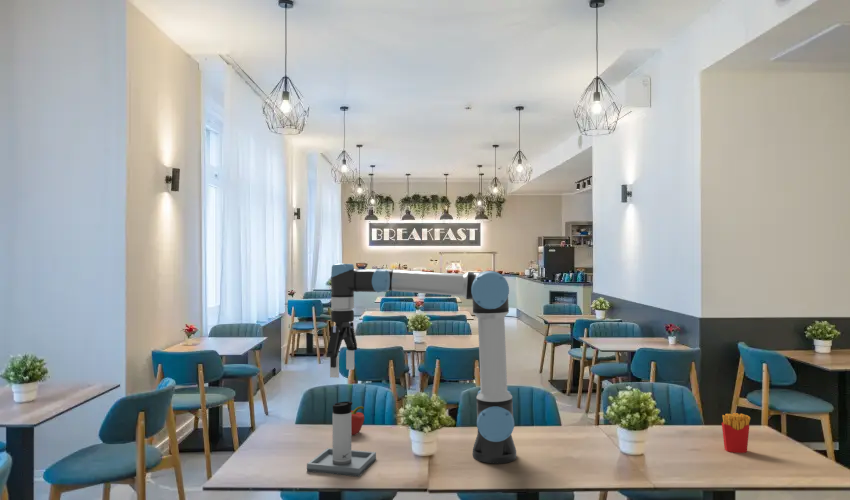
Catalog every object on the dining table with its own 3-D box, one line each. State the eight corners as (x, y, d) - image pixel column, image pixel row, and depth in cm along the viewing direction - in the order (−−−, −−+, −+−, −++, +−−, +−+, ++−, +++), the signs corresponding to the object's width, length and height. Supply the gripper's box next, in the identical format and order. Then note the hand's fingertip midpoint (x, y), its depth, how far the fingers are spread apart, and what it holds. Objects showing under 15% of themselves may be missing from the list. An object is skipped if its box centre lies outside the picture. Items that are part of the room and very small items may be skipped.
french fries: (725, 452, 203) (725, 415, 204) (720, 448, 208) (720, 412, 208) (752, 453, 203) (752, 416, 203) (746, 449, 207) (746, 412, 207)
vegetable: (356, 427, 234) (356, 403, 235) (371, 433, 227) (371, 408, 227) (333, 432, 228) (333, 407, 228) (347, 439, 220) (347, 412, 220)
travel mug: (348, 466, 188) (348, 404, 188) (329, 464, 189) (329, 403, 190) (354, 459, 194) (354, 400, 194) (336, 458, 195) (336, 399, 196)
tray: (375, 459, 197) (376, 452, 197) (359, 476, 182) (359, 468, 182) (327, 455, 202) (327, 447, 202) (306, 471, 186) (306, 463, 186)
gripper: (346, 306, 205) (346, 365, 205) (316, 312, 181) (316, 380, 181) (366, 306, 204) (366, 366, 203) (338, 313, 179) (338, 381, 179)
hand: (342, 373), depth 192 cm, fingers open, 13 cm apart
